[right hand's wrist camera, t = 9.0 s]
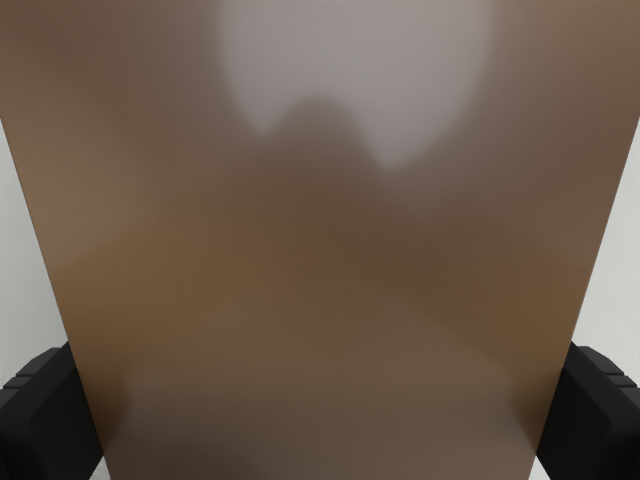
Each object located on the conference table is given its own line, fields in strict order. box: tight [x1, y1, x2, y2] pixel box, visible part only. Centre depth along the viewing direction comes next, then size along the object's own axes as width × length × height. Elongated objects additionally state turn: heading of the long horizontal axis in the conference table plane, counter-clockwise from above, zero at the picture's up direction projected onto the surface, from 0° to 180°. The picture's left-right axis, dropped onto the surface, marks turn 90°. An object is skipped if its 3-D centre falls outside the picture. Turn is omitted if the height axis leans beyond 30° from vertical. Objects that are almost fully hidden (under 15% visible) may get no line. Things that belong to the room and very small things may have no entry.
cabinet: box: [0, 0, 640, 480], centre depth 10 cm, size 21×10×8 cm, turn 0°
